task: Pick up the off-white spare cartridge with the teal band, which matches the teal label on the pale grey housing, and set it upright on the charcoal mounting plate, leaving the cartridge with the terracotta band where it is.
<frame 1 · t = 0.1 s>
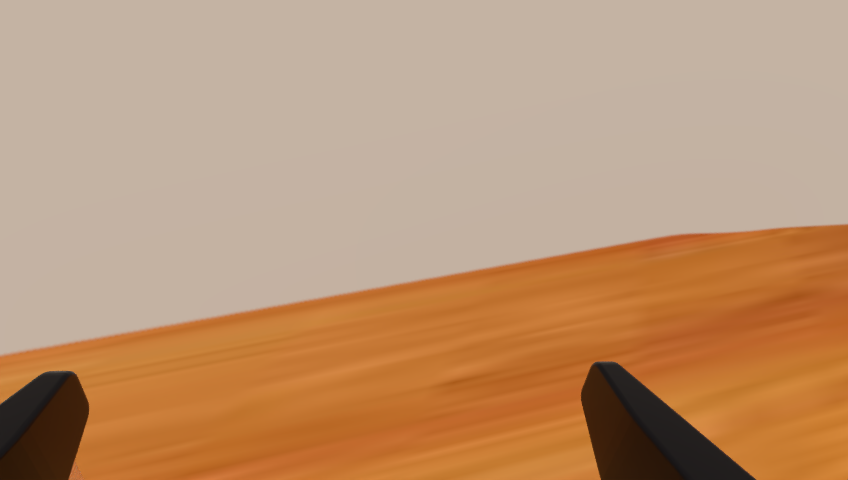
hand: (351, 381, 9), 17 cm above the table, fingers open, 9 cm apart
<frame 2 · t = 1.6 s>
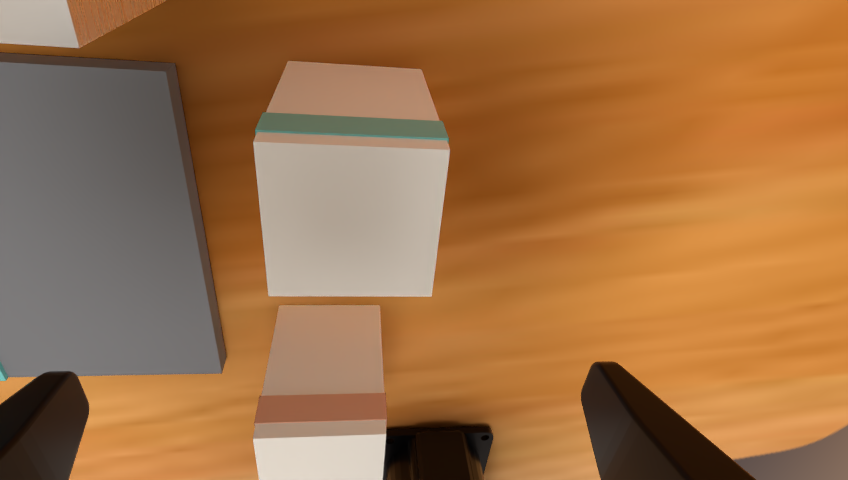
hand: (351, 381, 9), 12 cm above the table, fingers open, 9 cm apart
mounting plate: (73, 235, 20), on the table
terracotta cartridge: (330, 340, 25), on the table
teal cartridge: (354, 127, 19), on the table
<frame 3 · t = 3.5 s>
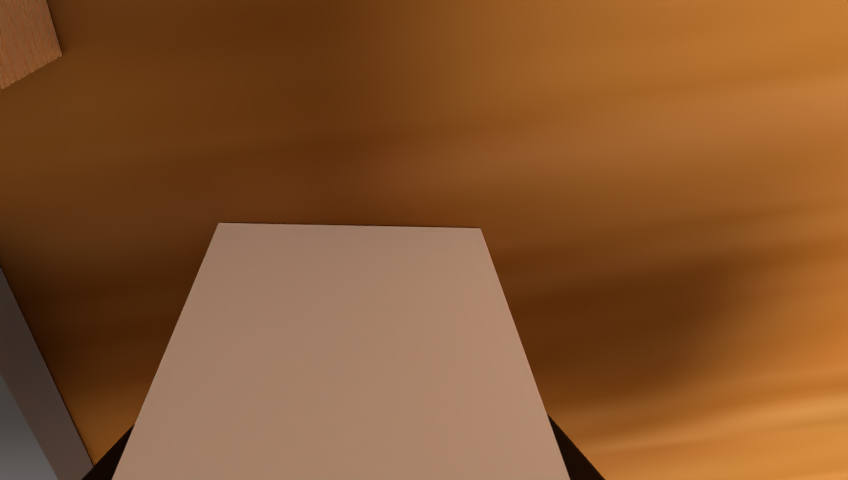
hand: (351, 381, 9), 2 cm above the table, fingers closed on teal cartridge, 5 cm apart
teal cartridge: (352, 320, 10), on the table, touching gripper
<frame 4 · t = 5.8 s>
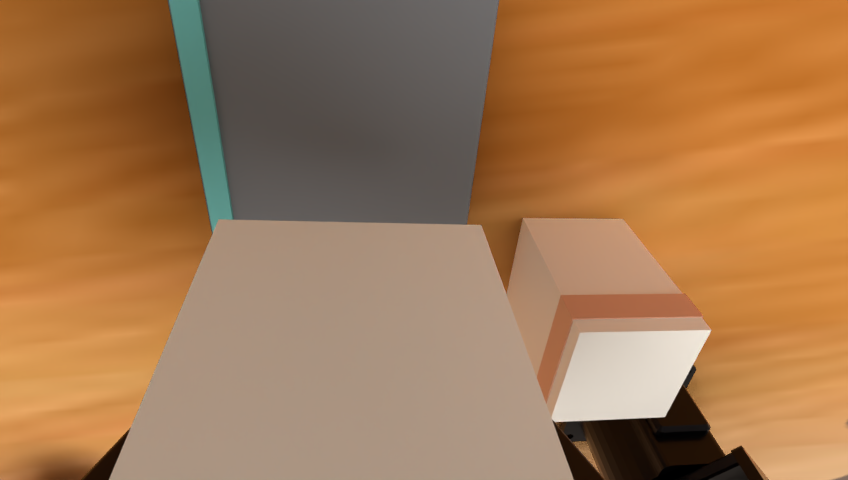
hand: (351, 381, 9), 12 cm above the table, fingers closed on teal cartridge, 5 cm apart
mounting plate: (341, 132, 19), on the table
terracotta cartridge: (561, 260, 24), on the table
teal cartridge: (352, 318, 10), point 10 cm above the table, touching gripper
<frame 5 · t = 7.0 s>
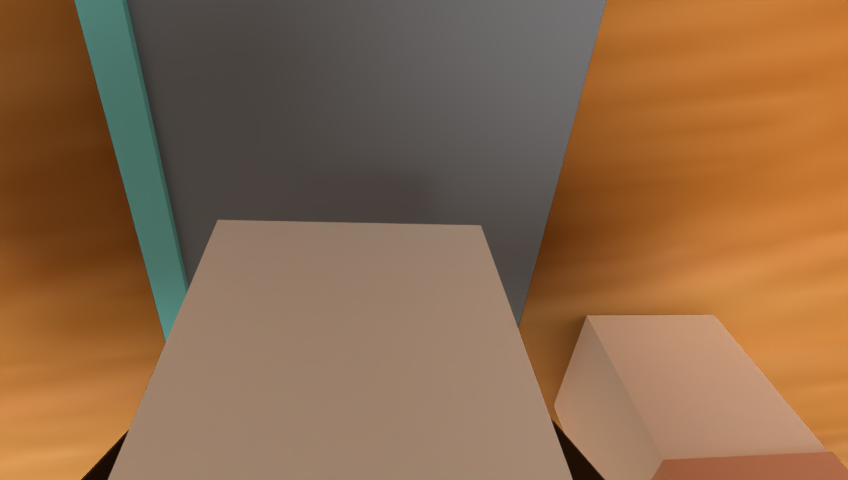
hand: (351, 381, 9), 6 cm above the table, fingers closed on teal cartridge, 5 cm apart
mounting plate: (350, 214, 14), on the table
terracotta cartridge: (629, 362, 18), on the table
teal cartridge: (352, 318, 10), point 4 cm above the table, touching gripper
when the fingers open (3 cm above the table, at t = 8.2 s): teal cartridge stays where it is, resting on mounting plate.
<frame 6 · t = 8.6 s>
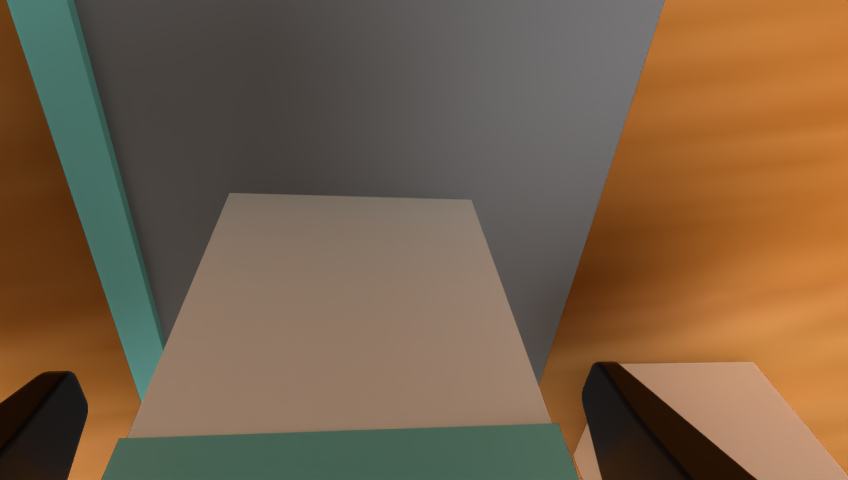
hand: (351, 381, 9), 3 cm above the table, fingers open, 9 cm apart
mounting plate: (352, 262, 12), on the table
terracotta cartridge: (657, 411, 17), on the table
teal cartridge: (352, 288, 11), point 1 cm above the table, touching mounting plate
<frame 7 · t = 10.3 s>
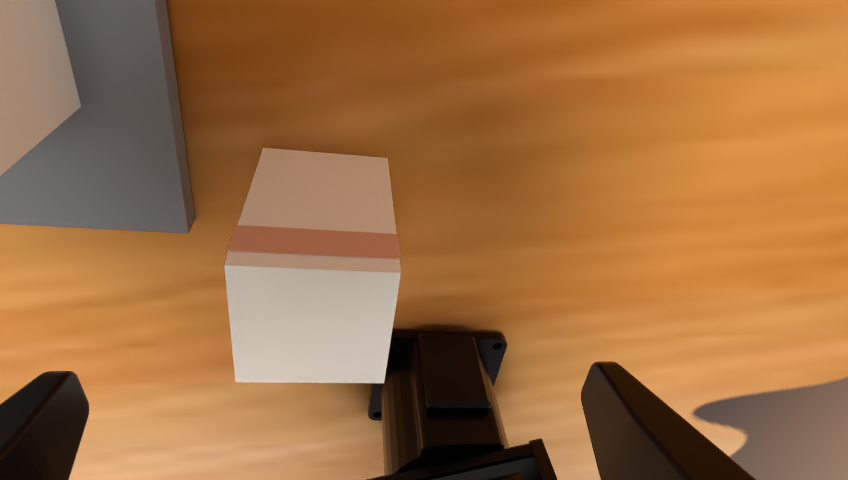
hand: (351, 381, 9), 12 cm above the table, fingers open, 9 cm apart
terracotta cartridge: (324, 204, 21), on the table
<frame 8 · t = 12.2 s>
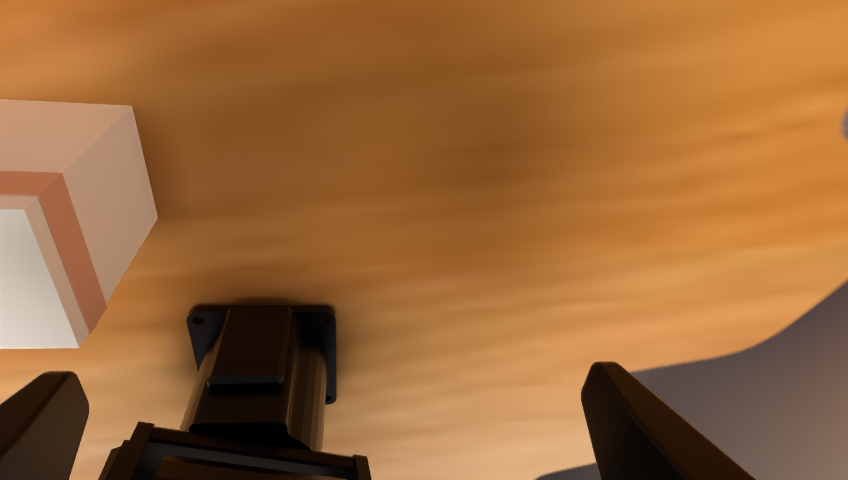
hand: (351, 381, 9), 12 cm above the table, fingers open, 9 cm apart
terracotta cartridge: (78, 163, 19), on the table
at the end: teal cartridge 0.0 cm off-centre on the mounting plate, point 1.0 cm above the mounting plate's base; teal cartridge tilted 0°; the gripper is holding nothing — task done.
